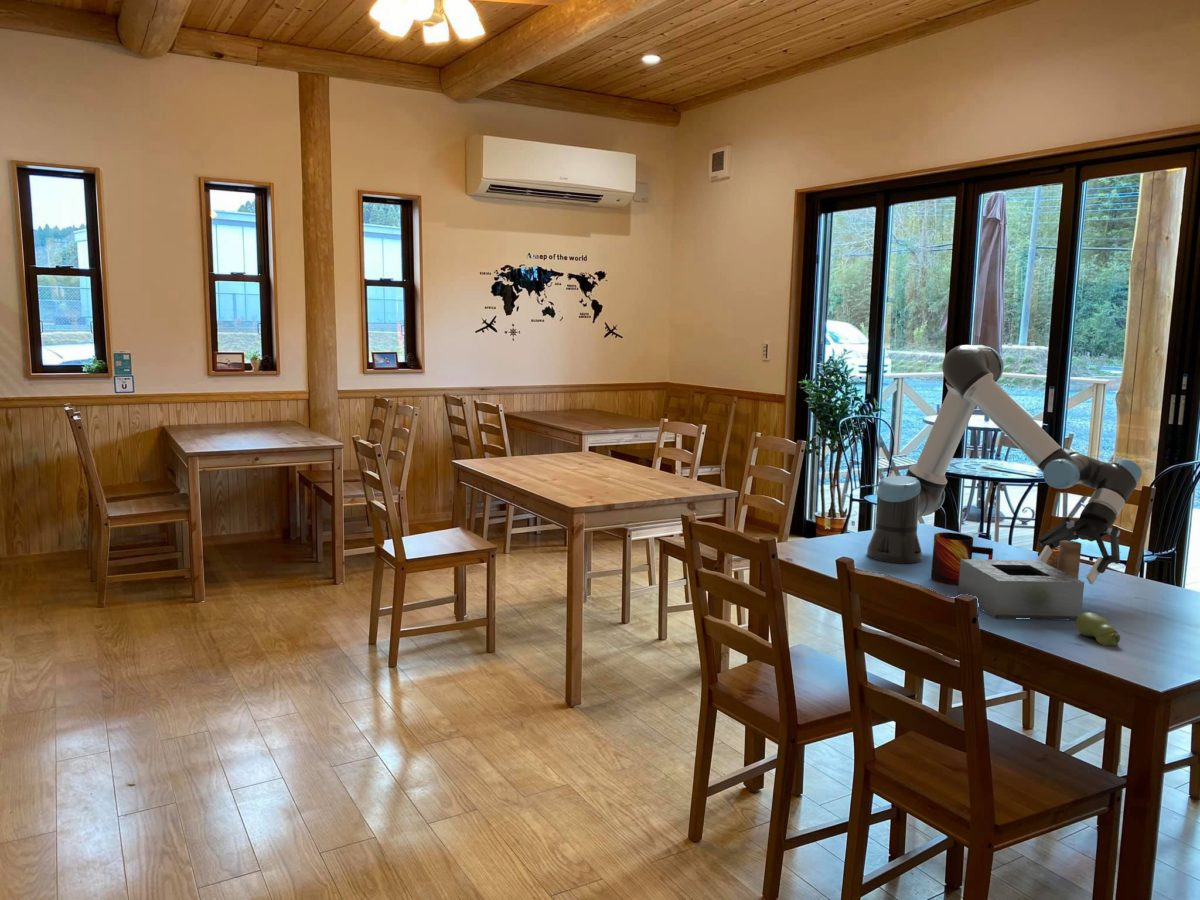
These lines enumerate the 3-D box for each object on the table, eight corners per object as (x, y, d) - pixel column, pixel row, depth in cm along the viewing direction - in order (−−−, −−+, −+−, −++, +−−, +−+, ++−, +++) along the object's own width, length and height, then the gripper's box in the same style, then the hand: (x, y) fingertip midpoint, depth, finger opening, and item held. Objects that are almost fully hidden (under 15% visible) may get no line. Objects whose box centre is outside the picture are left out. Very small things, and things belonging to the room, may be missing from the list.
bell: (1067, 581, 240) (1070, 555, 239) (1022, 572, 249) (1025, 546, 248) (1084, 575, 248) (1087, 549, 247) (1040, 566, 257) (1042, 541, 256)
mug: (991, 586, 233) (995, 541, 231) (939, 585, 233) (942, 540, 231) (976, 576, 242) (979, 533, 241) (925, 575, 242) (928, 531, 241)
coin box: (957, 593, 225) (960, 558, 223) (1035, 595, 225) (1039, 560, 224) (995, 618, 205) (998, 580, 204) (1080, 620, 205) (1084, 582, 204)
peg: (1050, 594, 227) (1055, 540, 225) (1069, 594, 227) (1074, 540, 225) (1061, 599, 222) (1066, 544, 220) (1080, 599, 222) (1085, 545, 220)
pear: (1094, 607, 197) (1129, 629, 187) (1088, 629, 198) (1123, 651, 189) (1073, 608, 195) (1107, 630, 186) (1067, 630, 197) (1101, 653, 188)
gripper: (1157, 529, 220) (1118, 596, 214) (1060, 511, 241) (1021, 571, 235) (1148, 509, 216) (1108, 577, 210) (1050, 493, 237) (1011, 554, 231)
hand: (1062, 574), depth 223 cm, fingers open, 13 cm apart
